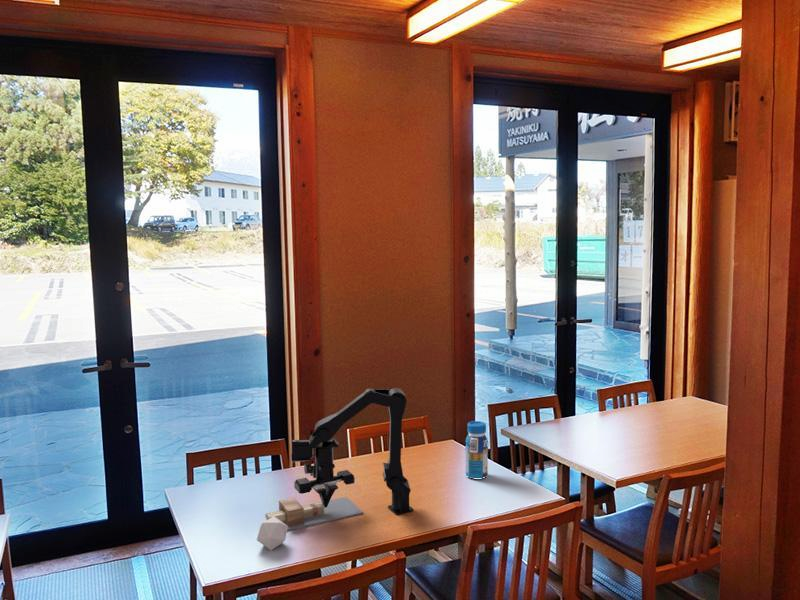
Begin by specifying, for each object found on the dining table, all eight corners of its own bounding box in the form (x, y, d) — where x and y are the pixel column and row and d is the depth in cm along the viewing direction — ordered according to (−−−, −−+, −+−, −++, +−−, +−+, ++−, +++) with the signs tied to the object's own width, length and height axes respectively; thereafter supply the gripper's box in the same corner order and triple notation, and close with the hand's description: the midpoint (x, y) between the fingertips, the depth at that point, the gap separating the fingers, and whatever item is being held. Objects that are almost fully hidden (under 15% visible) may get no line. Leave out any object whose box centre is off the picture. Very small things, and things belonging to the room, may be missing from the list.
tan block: (304, 523, 204) (303, 507, 203) (288, 526, 201) (288, 511, 201) (294, 512, 212) (294, 497, 211) (279, 515, 210) (278, 500, 209)
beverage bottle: (460, 474, 244) (460, 422, 242) (479, 470, 248) (479, 419, 246) (473, 482, 237) (473, 428, 235) (492, 478, 241) (493, 424, 239)
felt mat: (363, 513, 212) (363, 512, 211) (278, 532, 199) (278, 531, 199) (346, 498, 224) (346, 496, 224) (265, 515, 211) (265, 513, 211)
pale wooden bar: (324, 514, 210) (324, 505, 210) (269, 526, 202) (269, 517, 202) (321, 510, 213) (320, 502, 212) (266, 522, 204) (266, 514, 204)
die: (291, 551, 189) (294, 516, 194) (270, 546, 183) (273, 511, 188) (271, 554, 193) (274, 520, 198) (249, 550, 187) (253, 515, 192)
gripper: (341, 448, 221) (342, 492, 223) (288, 457, 213) (289, 503, 215) (355, 458, 212) (355, 504, 213) (299, 468, 203) (300, 516, 205)
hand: (325, 507), depth 212 cm, fingers closed
